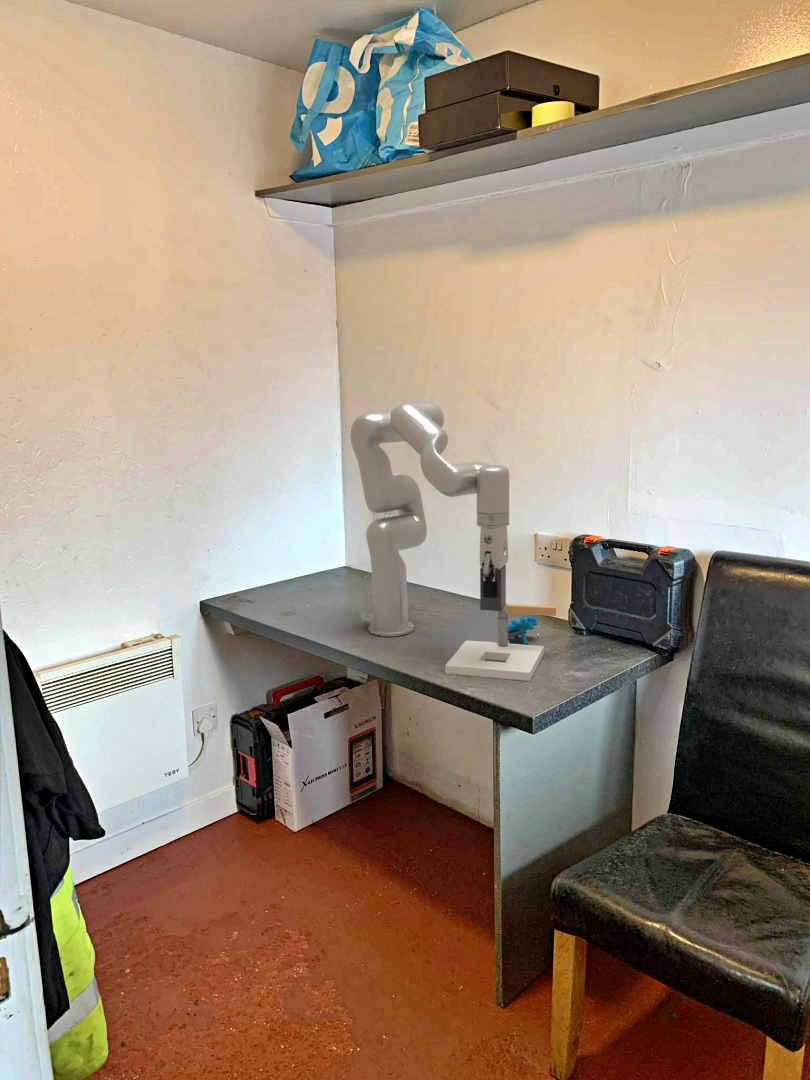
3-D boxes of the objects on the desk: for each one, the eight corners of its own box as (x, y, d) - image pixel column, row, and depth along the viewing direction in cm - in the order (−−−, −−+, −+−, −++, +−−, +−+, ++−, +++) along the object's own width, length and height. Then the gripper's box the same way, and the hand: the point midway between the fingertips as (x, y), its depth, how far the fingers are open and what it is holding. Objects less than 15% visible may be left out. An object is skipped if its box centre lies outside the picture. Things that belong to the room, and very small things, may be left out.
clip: (555, 620, 200) (555, 608, 199) (497, 617, 204) (497, 605, 203) (556, 617, 202) (556, 605, 201) (498, 614, 206) (498, 603, 205)
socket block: (445, 673, 193) (444, 636, 192) (466, 647, 211) (465, 613, 209) (529, 681, 187) (529, 642, 185) (543, 653, 204) (543, 618, 203)
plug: (480, 609, 194) (480, 568, 192) (485, 603, 199) (485, 563, 196) (501, 611, 192) (501, 570, 190) (505, 605, 197) (505, 564, 195)
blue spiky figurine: (531, 627, 220) (539, 610, 212) (540, 647, 217) (548, 630, 209) (493, 637, 218) (499, 620, 209) (501, 657, 215) (507, 640, 206)
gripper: (500, 526, 182) (500, 605, 186) (516, 513, 198) (515, 585, 201) (468, 525, 184) (468, 602, 188) (485, 511, 200) (486, 583, 204)
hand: (493, 593), depth 195 cm, fingers closed on plug, 5 cm apart
